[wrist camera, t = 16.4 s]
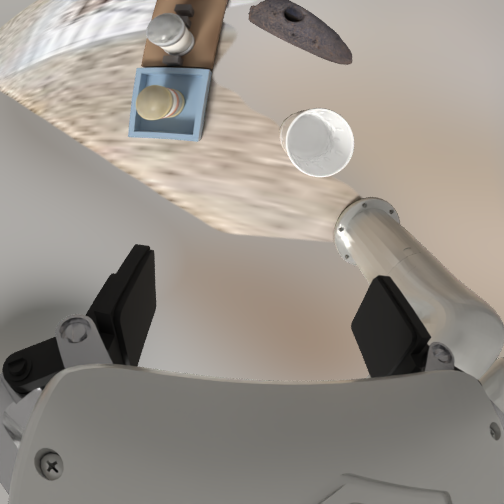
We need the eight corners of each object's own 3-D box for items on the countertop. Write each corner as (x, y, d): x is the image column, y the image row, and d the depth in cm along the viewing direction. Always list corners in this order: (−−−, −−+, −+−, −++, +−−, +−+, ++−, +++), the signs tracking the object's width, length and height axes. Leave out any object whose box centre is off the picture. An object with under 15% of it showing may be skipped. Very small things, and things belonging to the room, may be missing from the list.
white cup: (333, 116, 34) (361, 120, 26) (321, 166, 38) (344, 184, 29) (280, 103, 33) (294, 100, 25) (269, 155, 37) (278, 169, 28)
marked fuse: (187, 89, 31) (172, 85, 24) (183, 118, 33) (168, 120, 26) (158, 89, 31) (137, 85, 24) (155, 116, 33) (134, 120, 26)
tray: (211, 72, 31) (209, 69, 28) (201, 139, 35) (198, 141, 33) (144, 70, 30) (136, 68, 27) (135, 134, 34) (128, 137, 32)
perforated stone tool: (351, 55, 29) (371, 46, 23) (334, 79, 31) (352, 74, 25) (263, 2, 25) (268, -17, 19) (244, 26, 27) (245, 9, 21)
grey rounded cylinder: (197, 31, 26) (186, 12, 19) (191, 57, 28) (179, 44, 21) (167, 30, 26) (150, 14, 19) (162, 56, 28) (143, 45, 21)
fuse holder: (231, -15, 23) (230, -27, 19) (212, 69, 30) (208, 64, 27) (165, -15, 22) (157, -26, 18) (144, 67, 29) (133, 63, 25)
